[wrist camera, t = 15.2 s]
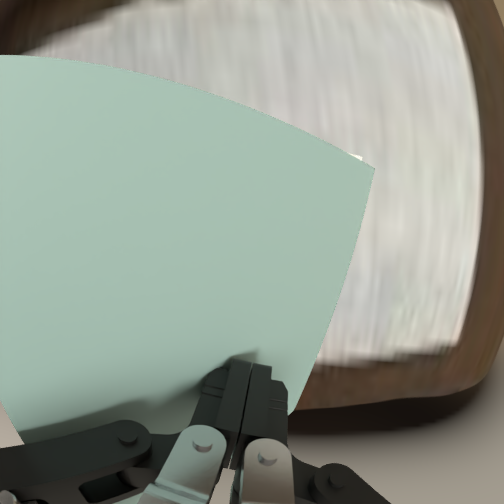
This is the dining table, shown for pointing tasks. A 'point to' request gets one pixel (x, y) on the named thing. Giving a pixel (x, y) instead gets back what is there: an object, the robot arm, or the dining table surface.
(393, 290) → the dining table surface
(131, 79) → the cover
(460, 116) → the dining table surface
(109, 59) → the dining table surface
